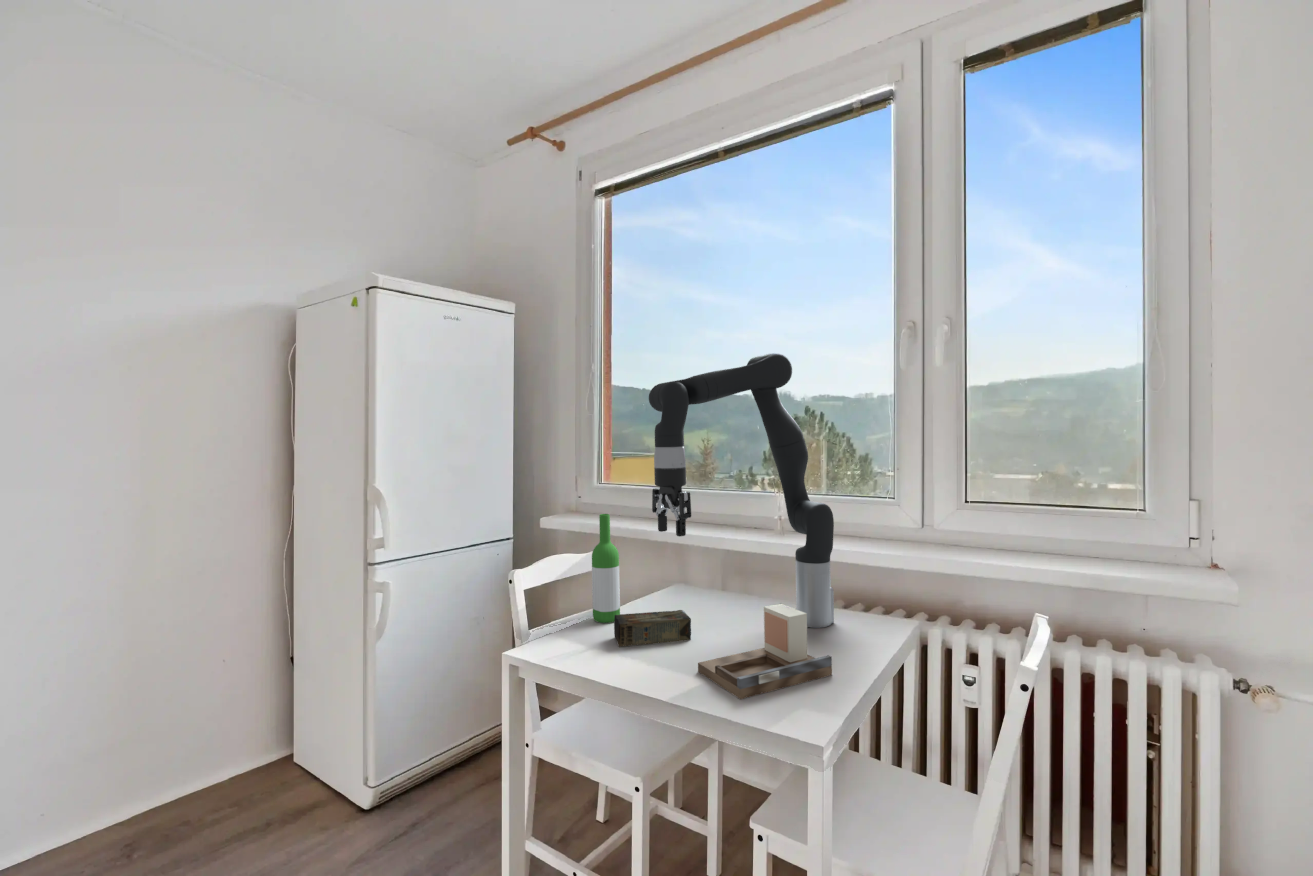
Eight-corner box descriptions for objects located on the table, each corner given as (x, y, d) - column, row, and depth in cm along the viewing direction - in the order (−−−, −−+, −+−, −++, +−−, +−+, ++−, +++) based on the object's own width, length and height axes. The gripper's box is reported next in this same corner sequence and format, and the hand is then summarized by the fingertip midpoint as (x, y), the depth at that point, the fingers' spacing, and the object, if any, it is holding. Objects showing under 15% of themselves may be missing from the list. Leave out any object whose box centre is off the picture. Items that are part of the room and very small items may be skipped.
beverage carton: (692, 641, 154) (692, 615, 154) (618, 649, 149) (617, 622, 149) (683, 631, 162) (683, 606, 162) (612, 638, 157) (612, 613, 157)
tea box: (781, 645, 143) (780, 603, 143) (807, 658, 135) (806, 613, 135) (763, 650, 141) (762, 607, 141) (788, 662, 133) (788, 617, 133)
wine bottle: (606, 614, 178) (604, 512, 178) (625, 618, 173) (623, 513, 173) (587, 620, 172) (585, 515, 172) (606, 625, 167) (604, 517, 167)
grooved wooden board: (783, 651, 145) (783, 635, 145) (832, 675, 130) (832, 657, 130) (698, 671, 134) (697, 653, 134) (741, 700, 119) (740, 679, 119)
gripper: (699, 466, 140) (701, 536, 140) (668, 464, 153) (669, 528, 153) (671, 467, 137) (673, 539, 137) (642, 465, 149) (643, 531, 149)
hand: (671, 533), depth 145 cm, fingers open, 8 cm apart
